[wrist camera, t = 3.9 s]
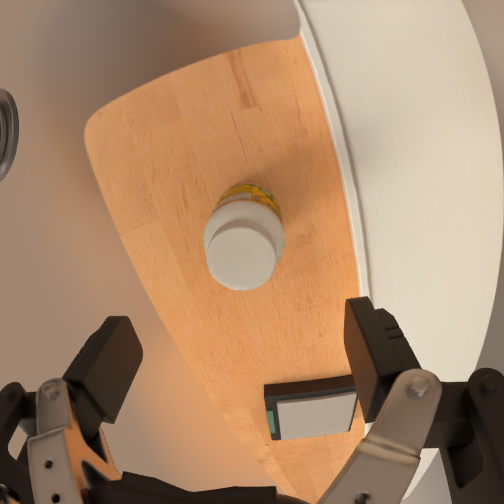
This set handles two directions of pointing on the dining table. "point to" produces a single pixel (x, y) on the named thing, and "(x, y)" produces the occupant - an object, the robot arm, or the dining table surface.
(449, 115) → the dining table surface
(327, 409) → the scale
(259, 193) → the supplement bottle
